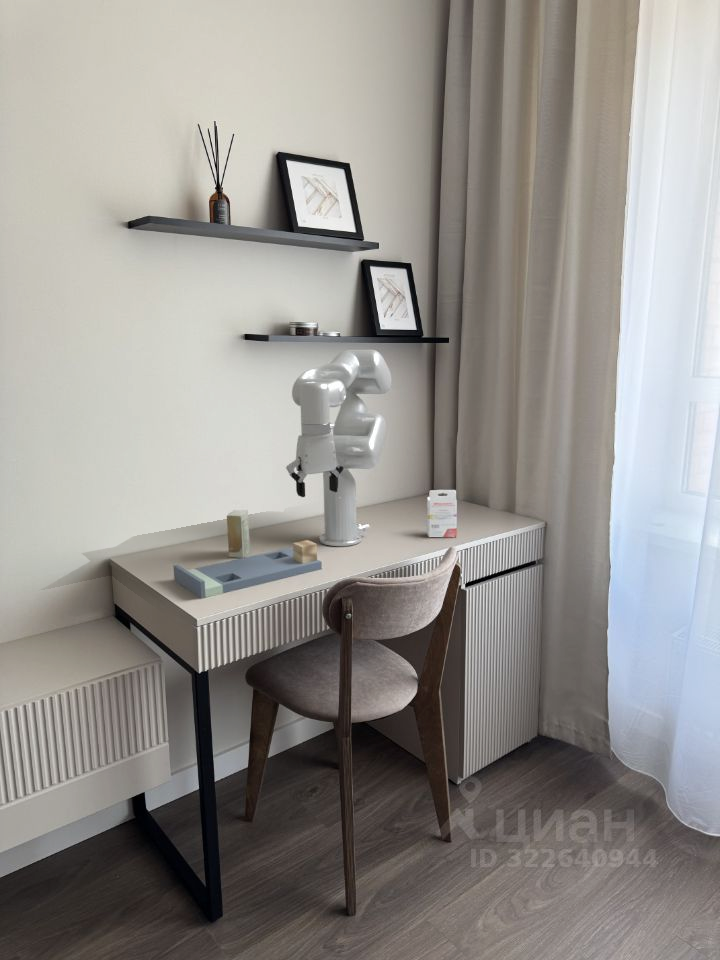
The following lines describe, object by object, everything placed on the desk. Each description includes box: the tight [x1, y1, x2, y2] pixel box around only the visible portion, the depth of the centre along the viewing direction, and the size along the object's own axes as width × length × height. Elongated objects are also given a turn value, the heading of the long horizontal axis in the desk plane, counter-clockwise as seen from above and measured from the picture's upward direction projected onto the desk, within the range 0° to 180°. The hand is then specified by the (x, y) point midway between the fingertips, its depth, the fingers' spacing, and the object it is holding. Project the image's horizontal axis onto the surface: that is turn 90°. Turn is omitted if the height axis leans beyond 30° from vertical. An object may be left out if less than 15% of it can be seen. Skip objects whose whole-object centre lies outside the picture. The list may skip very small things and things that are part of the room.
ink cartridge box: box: [426, 489, 458, 538], centre depth 215 cm, size 9×5×15 cm, turn 91°
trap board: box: [173, 547, 323, 599], centre depth 183 cm, size 34×16×4 cm, turn 127°
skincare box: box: [226, 509, 251, 559], centre depth 199 cm, size 6×4×12 cm
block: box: [292, 539, 318, 564], centre depth 188 cm, size 4×4×4 cm
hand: (317, 493), depth 189 cm, fingers open, 9 cm apart
